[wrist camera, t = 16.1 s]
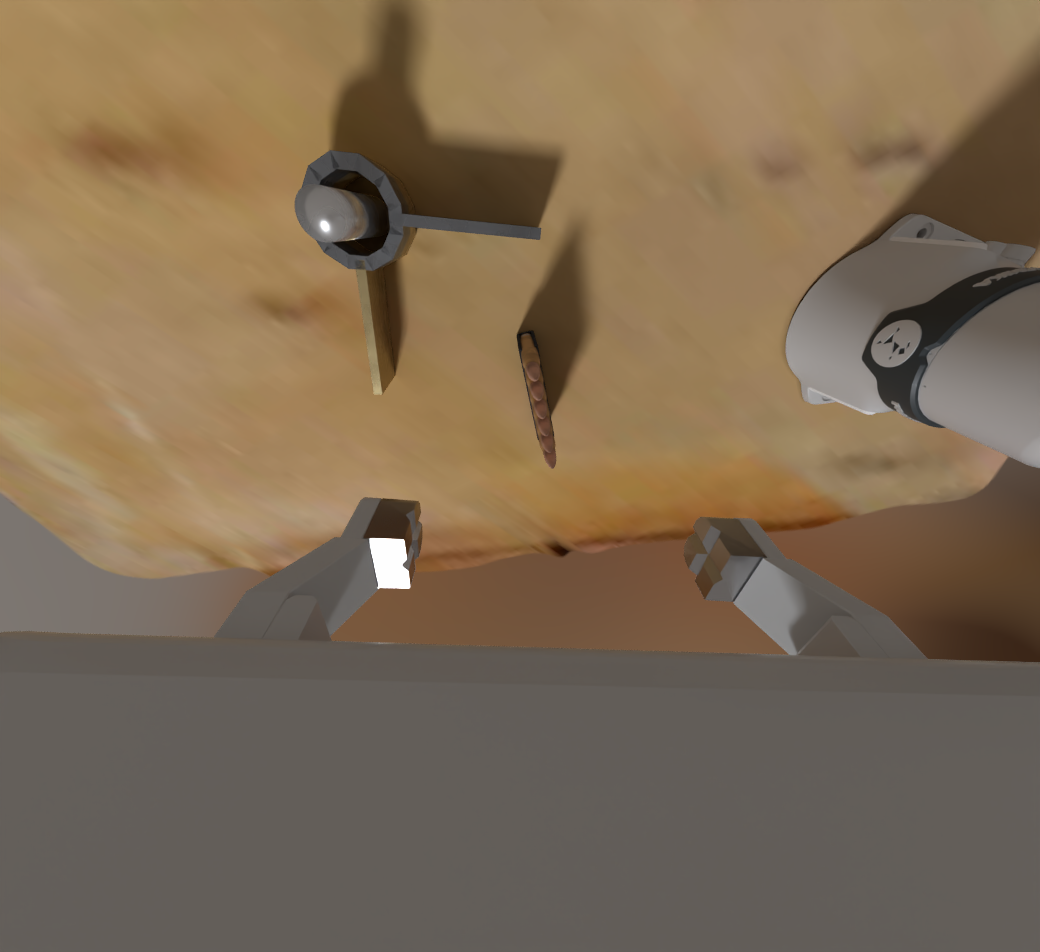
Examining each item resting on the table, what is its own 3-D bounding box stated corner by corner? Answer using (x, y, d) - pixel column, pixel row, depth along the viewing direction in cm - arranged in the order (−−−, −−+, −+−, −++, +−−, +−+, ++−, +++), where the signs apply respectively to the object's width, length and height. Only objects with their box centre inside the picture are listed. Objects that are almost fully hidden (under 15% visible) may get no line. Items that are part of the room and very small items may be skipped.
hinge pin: (389, 197, 32) (340, 186, 22) (393, 238, 34) (349, 244, 24) (354, 193, 32) (288, 181, 22) (359, 234, 34) (301, 240, 24)
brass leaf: (412, 167, 31) (397, 157, 27) (425, 377, 42) (416, 396, 37) (321, 157, 31) (290, 145, 26) (357, 373, 41) (339, 391, 36)
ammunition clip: (516, 333, 39) (521, 371, 29) (533, 329, 39) (544, 366, 29) (534, 422, 45) (544, 477, 35) (549, 419, 45) (563, 474, 35)
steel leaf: (539, 181, 32) (546, 175, 28) (531, 277, 36) (535, 285, 32) (321, 157, 31) (290, 145, 26) (338, 259, 35) (314, 265, 30)
